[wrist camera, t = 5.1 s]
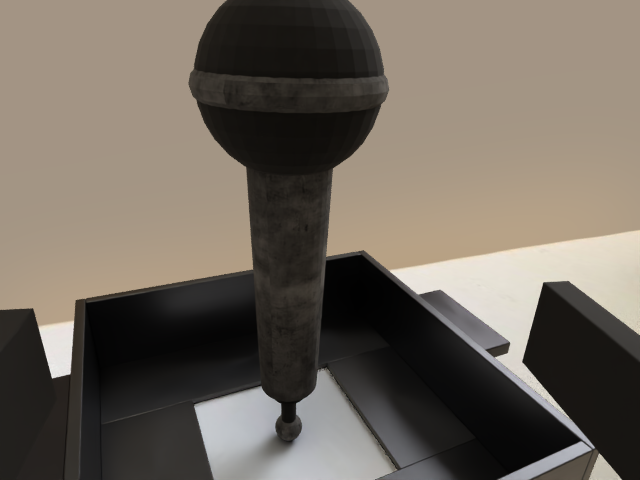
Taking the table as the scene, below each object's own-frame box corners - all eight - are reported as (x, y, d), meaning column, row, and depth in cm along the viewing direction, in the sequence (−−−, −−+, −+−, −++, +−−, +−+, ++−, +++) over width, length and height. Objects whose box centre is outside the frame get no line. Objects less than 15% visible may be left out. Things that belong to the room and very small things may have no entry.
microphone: (252, 376, 27) (238, -12, 18) (368, 403, 25) (409, -11, 17) (191, 475, 20) (129, -39, 12) (338, 519, 19) (380, -42, 11)
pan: (380, 303, 34) (385, 246, 32) (598, 513, 19) (633, 430, 17) (56, 377, 26) (37, 306, 24) (5, 846, 11) (-56, 759, 9)
